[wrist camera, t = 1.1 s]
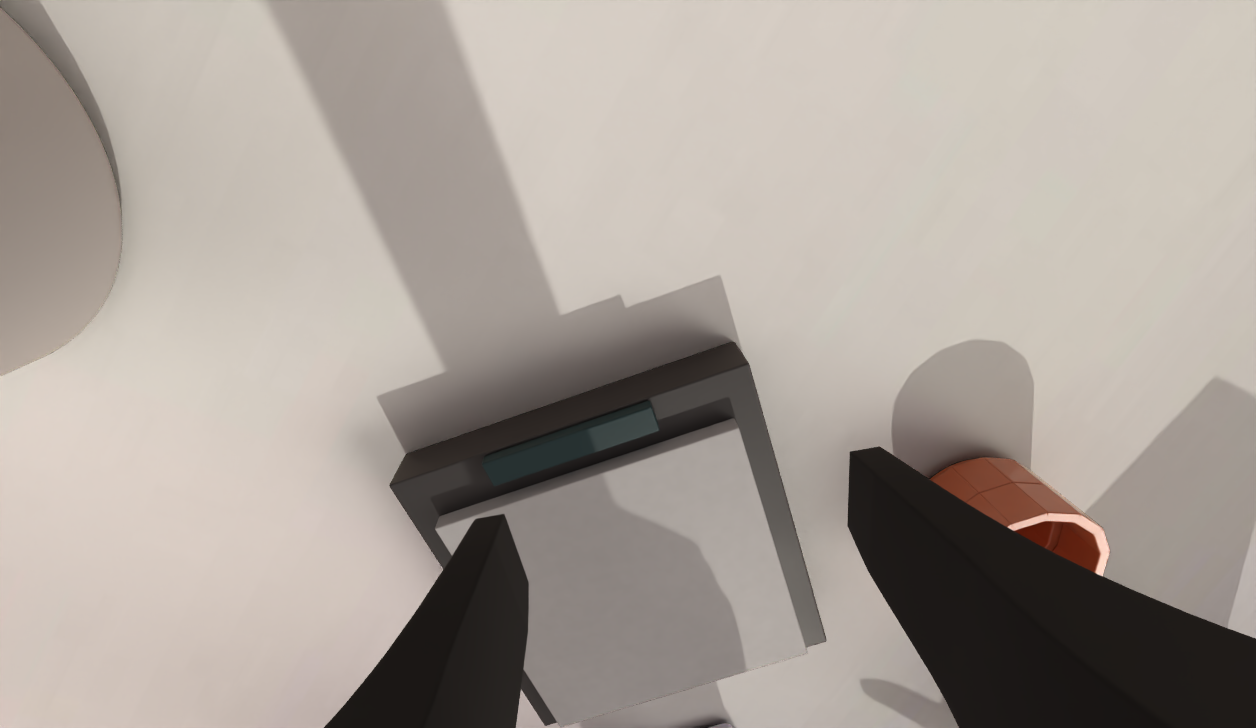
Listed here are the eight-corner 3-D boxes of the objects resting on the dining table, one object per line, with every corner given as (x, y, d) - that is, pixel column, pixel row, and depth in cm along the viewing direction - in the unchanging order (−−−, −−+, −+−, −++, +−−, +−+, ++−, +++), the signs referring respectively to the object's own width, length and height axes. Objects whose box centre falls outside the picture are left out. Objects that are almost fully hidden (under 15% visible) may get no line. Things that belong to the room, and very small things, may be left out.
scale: (810, 604, 26) (833, 656, 23) (547, 685, 27) (543, 742, 24) (734, 340, 20) (754, 371, 18) (405, 453, 21) (381, 498, 19)
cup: (1033, 532, 25) (1109, 604, 21) (907, 571, 26) (962, 647, 22) (1028, 432, 23) (1112, 492, 19) (890, 476, 23) (947, 543, 20)
